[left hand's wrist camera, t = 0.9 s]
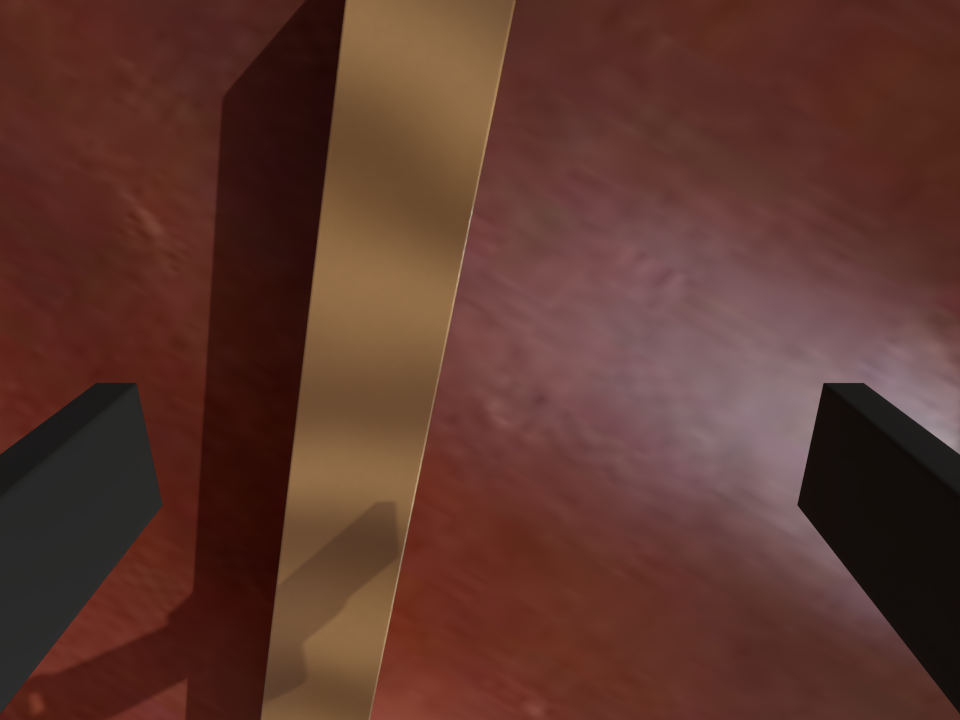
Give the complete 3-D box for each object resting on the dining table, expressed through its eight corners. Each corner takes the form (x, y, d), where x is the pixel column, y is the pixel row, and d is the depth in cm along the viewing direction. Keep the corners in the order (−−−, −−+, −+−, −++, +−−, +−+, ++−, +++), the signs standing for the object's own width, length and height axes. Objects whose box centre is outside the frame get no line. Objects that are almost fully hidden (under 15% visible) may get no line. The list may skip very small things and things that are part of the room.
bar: (405, -118, 25) (370, -217, 18) (530, -87, 26) (550, -171, 18) (261, 911, 49) (219, 1064, 41) (327, 920, 50) (298, 1073, 42)
